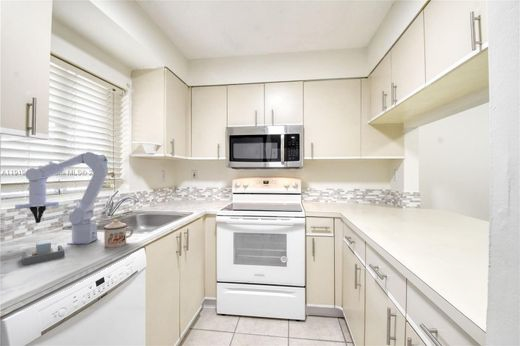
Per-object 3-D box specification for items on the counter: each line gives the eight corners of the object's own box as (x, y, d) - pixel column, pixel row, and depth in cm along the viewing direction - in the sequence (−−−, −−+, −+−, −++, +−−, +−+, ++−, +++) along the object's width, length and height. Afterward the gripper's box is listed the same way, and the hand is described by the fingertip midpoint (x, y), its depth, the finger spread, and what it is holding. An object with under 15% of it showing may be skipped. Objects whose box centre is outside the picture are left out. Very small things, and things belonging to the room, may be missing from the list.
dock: (22, 258, 89) (22, 252, 89) (61, 251, 98) (61, 245, 98) (23, 265, 83) (23, 258, 83) (64, 256, 92) (64, 250, 92)
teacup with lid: (105, 249, 100) (105, 223, 100) (102, 244, 107) (101, 219, 107) (135, 243, 109) (135, 219, 109) (130, 239, 115) (130, 216, 115)
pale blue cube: (36, 252, 91) (36, 242, 91) (49, 250, 94) (49, 240, 94) (36, 255, 88) (36, 245, 88) (50, 252, 91) (50, 242, 91)
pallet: (32, 256, 92) (32, 251, 92) (52, 252, 96) (52, 248, 96) (33, 263, 86) (33, 257, 86) (54, 258, 90) (54, 253, 90)
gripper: (57, 192, 115) (57, 219, 115) (15, 194, 105) (15, 223, 105) (59, 193, 111) (59, 221, 111) (15, 195, 100) (15, 226, 100)
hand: (37, 222), depth 107 cm, fingers closed
